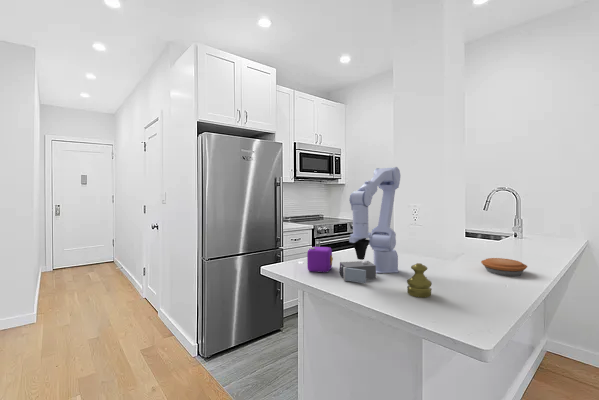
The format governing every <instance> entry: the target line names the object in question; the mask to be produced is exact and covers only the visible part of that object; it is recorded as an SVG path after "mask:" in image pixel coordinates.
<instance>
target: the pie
mask: <svg viewBox="0 0 599 400" xmlns="http://www.w3.org/2000/svg"><path fill="white" fill-rule="evenodd" d="M480 263H481V264H482V265H483V266H484V268H485V270H486V271H487V272H489V273H491V274H493V275H498V276H503V277H504V276H508V277H519V276H521V275H522V273H523V272H524V271H525V270H526V269H527V268H528V265H527V264H524V263H523V262H521V261H519V260H515V259H511V258H510V259H509V258H503V257H491V258H486V259H483V260H481V262H480Z"/></svg>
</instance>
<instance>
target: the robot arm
mask: <svg viewBox="0 0 599 400" xmlns="http://www.w3.org/2000/svg"><path fill="white" fill-rule="evenodd" d="M400 182H401V172H400V169H399V167H398V166H394V167H393V166H392V167H382V168H380V167H376V168H375V169H374V170H373V176H372V177H371V179H370V180H365V181H364V183H363V184H362V185H361V186H360V187H359V188H358V189H357V190H353V192H351V193H350V195H349V204H350V208H351V209H350V210H351V211H352V233H350V234H349V237H348V239H349V240H348V243H351V244H352V246H353V247H354V250H355V254H356V258H357V260H359V261H364V260H365V257H366V253H367V249H368V247H370V248H371V250H373V264H374V265H376V274H390V273H399V272H400V271H399V255H398V252H397V250H396V249H395V248H396V245H397V240H396V238H397V235H396V234H397V233H396V232H395V231H394V230H393V229H392V228H391V223H392V215H393V209H394V202H395V194H396V190H398V188H400V187H399V186H400ZM378 189H380V190H381V191H382V198H381V204H380V211H379V217H378V224H377V226H375V227H374V228H373V229H371V232H369V206H370V205H371V204H372V199H373V196H374V195H375V194H376V193H377V192H378Z"/></svg>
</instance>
